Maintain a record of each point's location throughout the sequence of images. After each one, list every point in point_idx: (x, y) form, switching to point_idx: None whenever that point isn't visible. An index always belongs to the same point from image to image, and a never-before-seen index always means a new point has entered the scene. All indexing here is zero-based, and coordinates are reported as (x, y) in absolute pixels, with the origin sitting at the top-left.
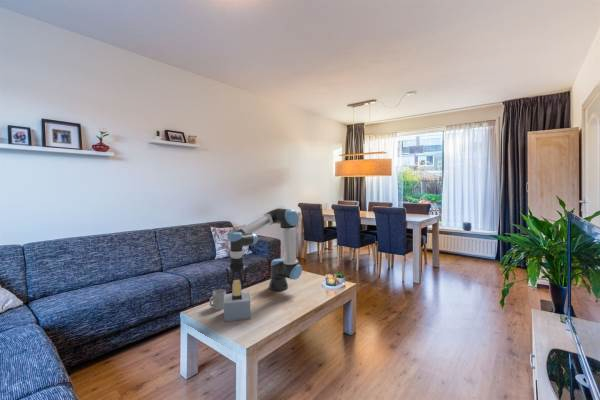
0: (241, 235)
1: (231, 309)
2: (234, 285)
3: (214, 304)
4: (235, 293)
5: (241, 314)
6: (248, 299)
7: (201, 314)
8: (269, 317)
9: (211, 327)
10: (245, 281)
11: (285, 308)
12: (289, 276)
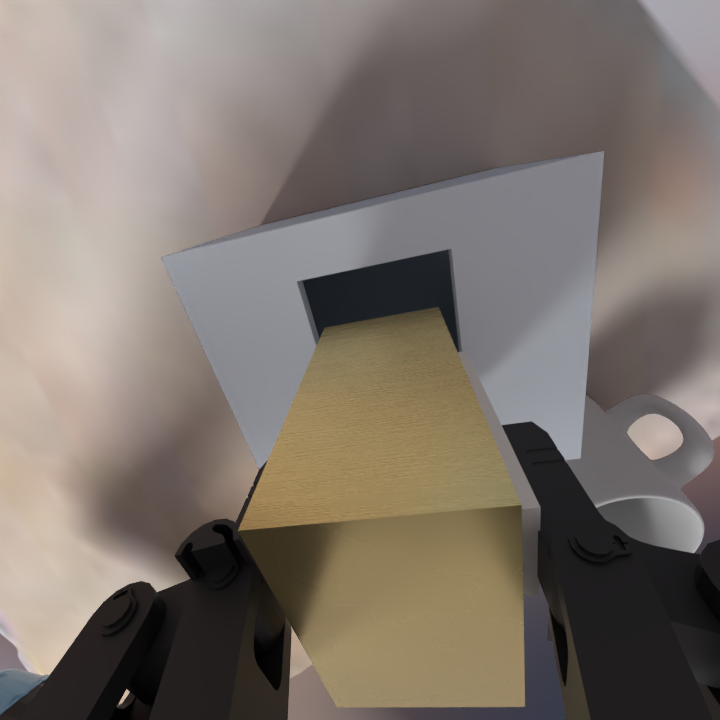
0: None
1: (438, 185)
2: (456, 439)
3: (615, 417)
4: (407, 331)
5: (328, 210)
6: (197, 276)
7: (708, 317)
8: (112, 251)
9: (626, 10)
10: (106, 616)
11: (61, 394)
12: (11, 705)
